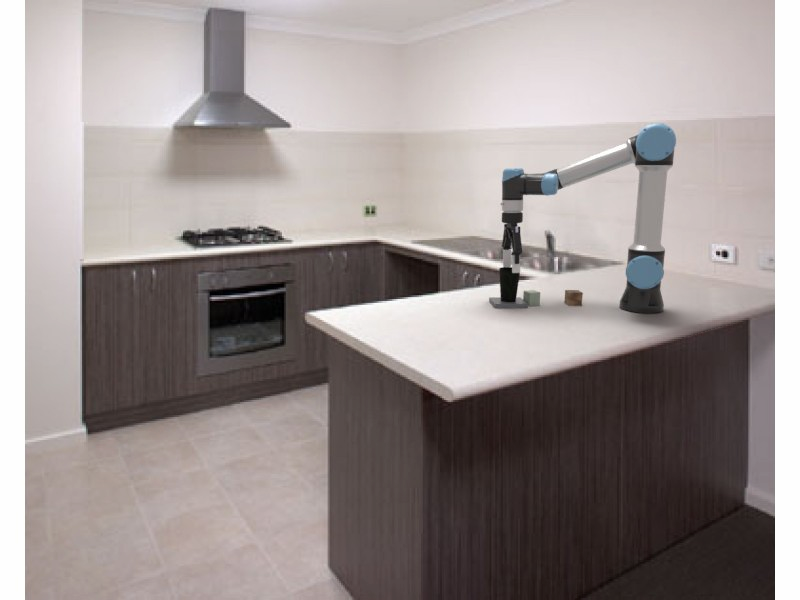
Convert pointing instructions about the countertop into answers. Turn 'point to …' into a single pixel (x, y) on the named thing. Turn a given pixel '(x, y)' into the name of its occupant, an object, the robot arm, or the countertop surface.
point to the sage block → (532, 297)
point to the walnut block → (573, 297)
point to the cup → (508, 284)
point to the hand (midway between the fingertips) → (511, 269)
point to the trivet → (508, 303)
